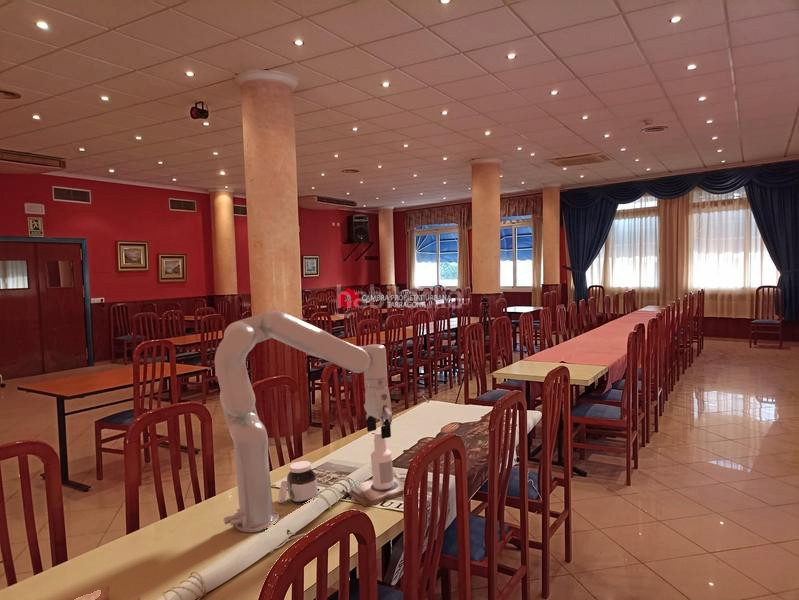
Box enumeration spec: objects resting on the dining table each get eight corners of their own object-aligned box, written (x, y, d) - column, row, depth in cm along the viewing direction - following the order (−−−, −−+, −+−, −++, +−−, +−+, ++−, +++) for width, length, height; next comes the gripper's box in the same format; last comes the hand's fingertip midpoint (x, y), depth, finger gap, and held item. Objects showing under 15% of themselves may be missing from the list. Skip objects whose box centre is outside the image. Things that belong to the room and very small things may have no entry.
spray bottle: (391, 490, 175) (387, 435, 174) (371, 490, 177) (366, 435, 175) (395, 481, 182) (391, 429, 181) (376, 481, 183) (372, 429, 182)
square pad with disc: (364, 507, 168) (364, 501, 168) (342, 490, 181) (342, 484, 181) (413, 491, 177) (413, 485, 177) (389, 476, 191) (388, 470, 190)
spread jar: (321, 499, 175) (318, 464, 175) (291, 512, 168) (287, 475, 167) (302, 490, 184) (299, 456, 184) (272, 501, 177) (269, 466, 176)
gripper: (399, 385, 171) (402, 438, 172) (373, 377, 186) (376, 426, 187) (378, 388, 167) (381, 443, 168) (353, 380, 182) (356, 430, 183)
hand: (378, 434), depth 178 cm, fingers open, 9 cm apart
